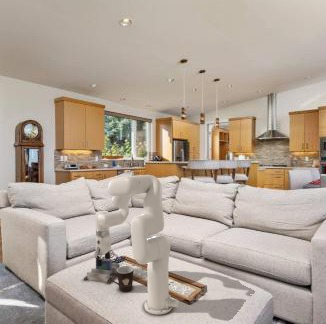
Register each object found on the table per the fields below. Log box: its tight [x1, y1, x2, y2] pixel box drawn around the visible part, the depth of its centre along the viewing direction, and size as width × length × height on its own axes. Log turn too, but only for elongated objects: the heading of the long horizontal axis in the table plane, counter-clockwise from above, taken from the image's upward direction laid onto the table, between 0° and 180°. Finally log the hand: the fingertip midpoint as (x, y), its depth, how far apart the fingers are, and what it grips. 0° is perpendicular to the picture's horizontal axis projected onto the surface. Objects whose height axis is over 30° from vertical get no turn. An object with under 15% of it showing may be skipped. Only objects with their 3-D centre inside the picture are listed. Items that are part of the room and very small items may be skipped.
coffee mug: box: [108, 265, 135, 293], centre depth 131 cm, size 12×9×10 cm
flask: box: [95, 255, 112, 271], centre depth 146 cm, size 9×3×11 cm, turn 83°
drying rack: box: [83, 262, 121, 285], centre depth 146 cm, size 15×17×4 cm
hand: (103, 262), depth 146 cm, fingers open, 9 cm apart
